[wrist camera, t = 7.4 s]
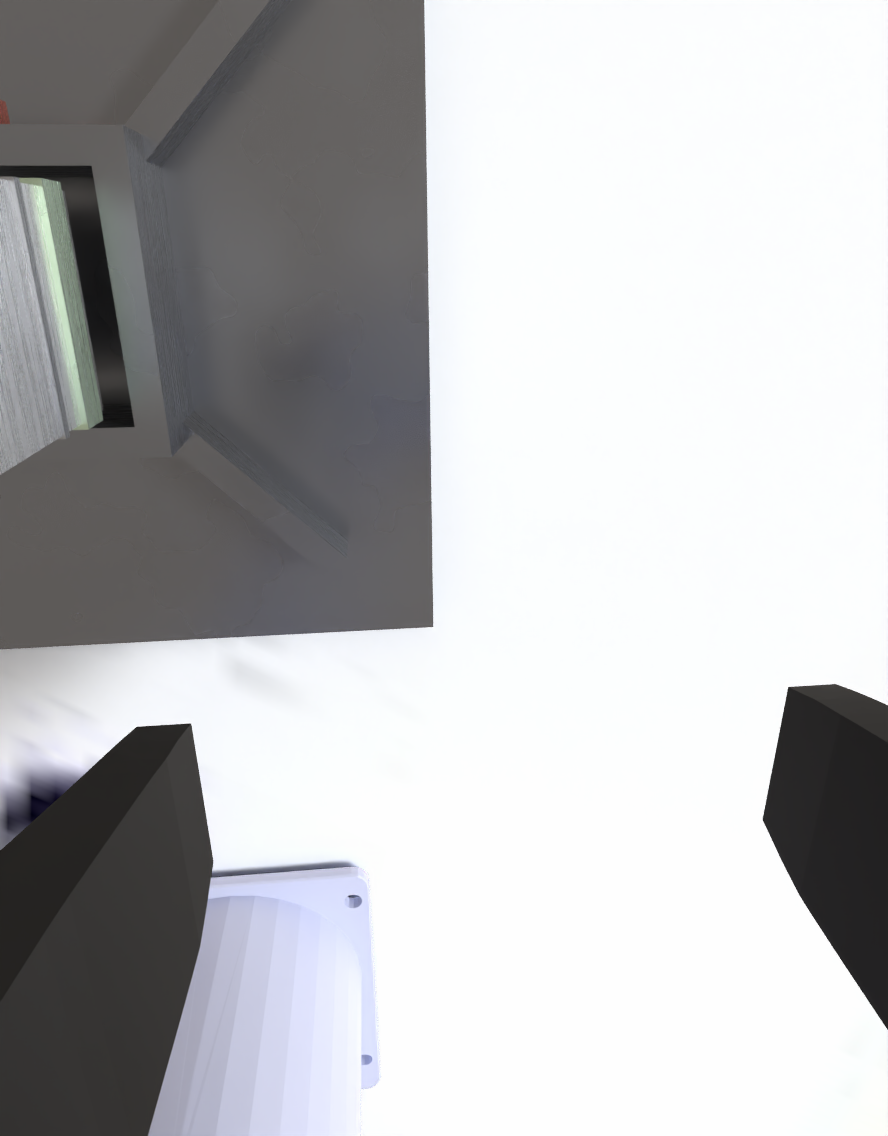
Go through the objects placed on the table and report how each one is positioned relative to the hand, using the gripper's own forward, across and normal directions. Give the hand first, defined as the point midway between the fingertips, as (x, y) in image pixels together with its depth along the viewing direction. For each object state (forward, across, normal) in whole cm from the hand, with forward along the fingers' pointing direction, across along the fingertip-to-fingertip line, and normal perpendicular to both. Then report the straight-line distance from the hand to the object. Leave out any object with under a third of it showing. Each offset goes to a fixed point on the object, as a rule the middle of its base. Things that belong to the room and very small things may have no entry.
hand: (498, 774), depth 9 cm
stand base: (+10, +8, -5) cm, 14 cm away
